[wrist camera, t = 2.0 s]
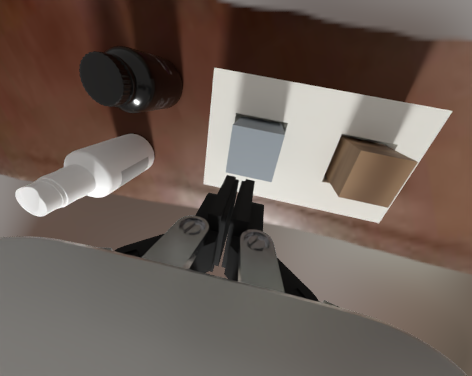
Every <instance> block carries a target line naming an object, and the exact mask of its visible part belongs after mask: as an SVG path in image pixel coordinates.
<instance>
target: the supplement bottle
mask: <svg viewBox="0 0 472 376" xmlns="http://www.w3.org/2000/svg"><path fill="white" fill-rule="evenodd" d="M79 71H80V77H81V82H82V83H83V86H84V88H85V90H86V92H88V94H89V96H91V97H92V99H94V100H95V101H96V102H98V103H99V104H101V105H104V106H110V107H111V106H115V107H117V108H119V109H121V110H123V111H125V112H129V113H141V112H147V111H153V110H159V109H165V108H169V107H172V106H174V105H175V104H176V103H177V102H178V101H179V99H180V97H181V94H182V80H181V76H180V74H179V72H178V70H177V69H176V67H175V66H174V65H173V64H172V63H171V62H170V61H168V60H166V59H164V58H162V57H159V56H155V55H152V54H149V53H145V52H142V51H139V50H135V49H132V48H128V47H123V46H115V47H112V48H109V49H108V50H106V51H105V52H104V53H103V52H96V51H94V52H89V54H86V55H85V56H84V57H83V59H82V60H81V64H80V69H79Z"/></svg>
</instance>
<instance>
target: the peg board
mask: <svg viewBox="0 0 472 376" xmlns="http://www.w3.org/2000/svg"><path fill="white" fill-rule="evenodd" d="M451 113H452V111H449V110H444V109H438V108H433V107H427V106H422V105H416V104H411V103H405V102H400V101H394V100H389V99H384V98H378V97H373V96H367V95H362V94H356V93H351V92H345V91H340V90H334V89H329V88H323V87H318V86H312V85H307V84H302V83H296V82H291V81H285V80H280V79H274V78H269V77H263V76H258V75H252V74H247V73H241V72H236V71H231V70H225V69H220V68H214V77H213V87H212V98H211V109H210V120H209V130H208V141H207V152H206V163H205V173H204V184H207V185H211V186H216V187H220V188H221V186H222V184H223V182H224V180H225V178H226V176H227V175H230V176H234V177H236V179H237V180H239V183H238V188H237V191H238V192H239V189H240V185H241V182H242V181H246V179H248V180H253V181H255V184H254V191H253V195H256V196H260V197H265V198H269V199H274V200H278V201H282V202H287V203H291V204H296V205H300V206H305V207H309V208H314V209H318V210H323V211H327V212H332V213H336V214H341V215H345V216H349V217H354V218H358V219H363V220H367V221H372V222H376V223H379V222H380V221H381V219H382V218H383V216H384V215H385V213H386V212H387V210H388V209H389V207H390V206H391V204H392V203H393V201H394V200H395V198H396V197H397V195H398V194H397V195H396V197H395V198H394V200H393V201H392V203H391V204H390V206H389V207H388V208H387V207H382V206H378V205H373V204H368V203H364V202H359V201H355V200H350V199H345V198H341V197H338V195H337V194H336V192H335V191H334V189H333V187H332V186H331V184H330V182H329V181H328V179H327V178H326V176H325V173H326V171H327V168H328V166H329V163H330V161H331V159H332V156H333V154H334V152H335V149H336V147H337V144H338V142H339V140H340V137H341V136H345V137H350V138H355V139H360V140H365V141H371V142H376V143H381V144H383V145H385V146H387V147H389V148H391V149H393V150H395V151H397V152H399V153H401V154H403V155H405V156H407V157H409V158H411V159H413V160H415V161H417V162H418V163H419V162H420V160H421V159H422V157H423V155H424V154H425V152H426V151H427V149H428V148H429V146H430V145H431V143H432V142H433V140H434V139H435V137H436V136H437V134H438V133H439V131H440V130H441V128H442V127H443V125H444V124H445V122H446V121H447V119H448V117H449V116H450V114H451ZM241 116H244V117H249V118H254V119H259V120H264V121H269V122H274V123H280V124H282V127H283V130H284V134H285V137H284V140H283V144H282V147H281V151H280V154H279V158H278V161H277V165H276V168H275V172H274V175H273V179H272V182H268V181H263V180H258V179H254V178H249V177H245V176H240V175H236V174H231V173H226V166H227V159H228V153H229V146H230V139H231V133H232V126H233V124H234V123H235V122H236V121H237V120H238V119H239V118H240V117H241ZM418 163H417V165H418ZM417 165H416V166H417ZM416 166H415V168H416ZM415 168H414V169H415ZM414 169H413V171H414ZM413 171H412V172H413ZM412 172H411V174H412ZM411 174H410V175H411ZM410 175H409V177H410ZM409 177H408V178H409ZM408 178H407V180H408ZM407 180H406V181H407ZM406 181H405V183H406ZM405 183H404V184H405ZM404 184H403V186H404ZM403 186H402V187H403ZM402 187H401V189H402ZM401 189H400V190H401ZM400 190H399V192H400ZM399 192H398V193H399Z"/></svg>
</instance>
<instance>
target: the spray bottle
mask: <svg viewBox="0 0 472 376" xmlns="http://www.w3.org/2000/svg"><path fill="white" fill-rule="evenodd" d="M153 161H154V151H153V149H152V147H151V145H150V144H149V142H148V141H147V140H146V139H145V138H143V137H141V136H139V135H137V134H126V135H123V136H120V137H116V138H113V139H110V140H107V141H104V142H101V143H98V144H94V145H91V146H88V147H85V148H82V149H79V150H76V151H73V152H71V153H70V154H69V155H67V156H66V158H65V160H64V168H61V169H59V170H57V171H56V172H53V173H50V174H48V175H45V176H43V177H40V178H39V179H37V180H36V181H35V182H34V183H31V184H29V185H26V186H23V187H21V188H19V189H17V190H16V193H15V195H16V199H17V201H18V202H19V203H20V205H21V206H22V207H23V208H24V209H25V210H26V211H28V212H29V213H31V214H33V215H35V216H44V215H46V214H48V213H50V212H52V211H54V210H55V209H57V208H60V207H65V206H67V205H68V204H70V203H72V202H74V201H75V200H77V199H79V198H82V197H84V196H86V195H88V196H91V197H96V198H98V197H104V196H106V195H108V194H110V193H111V192H113V191H115V190H116V189H118V188H119V187H121V186H122V185H124V184H125V183H127V182H128V181H130V180H131V179H133V178H134V177H136V176H137V175H139V174H141V173H142V172H144V171H145V170H147V169H148V168H150V167H151V165H152V164H153Z"/></svg>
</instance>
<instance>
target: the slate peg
mask: <svg viewBox="0 0 472 376" xmlns="http://www.w3.org/2000/svg"><path fill="white" fill-rule="evenodd" d="M284 137H285V134H284V130H283V127H282V124H280V123H274V122H269V121H264V120H259V119H254V118H249V117H244V116H241V117H240V118H239V119H238V120H237V121H236V122H235V123H234V124H233V126H232V133H231V139H230V146H229V153H228V159H227V166H226V173H231V174H236V175H240V176H245V177H249V178H254V179H258V180H263V181H268V182H272V179H273V175H274V172H275V168H276V165H277V161H278V158H279V154H280V151H281V147H282V144H283V140H284Z"/></svg>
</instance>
